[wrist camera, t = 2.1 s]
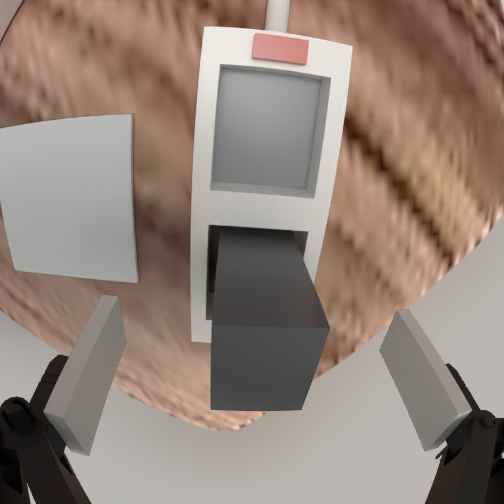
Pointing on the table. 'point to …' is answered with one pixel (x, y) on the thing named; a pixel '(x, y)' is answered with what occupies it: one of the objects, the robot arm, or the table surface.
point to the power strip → (264, 141)
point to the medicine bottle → (7, 13)
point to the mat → (70, 197)
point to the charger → (263, 322)
